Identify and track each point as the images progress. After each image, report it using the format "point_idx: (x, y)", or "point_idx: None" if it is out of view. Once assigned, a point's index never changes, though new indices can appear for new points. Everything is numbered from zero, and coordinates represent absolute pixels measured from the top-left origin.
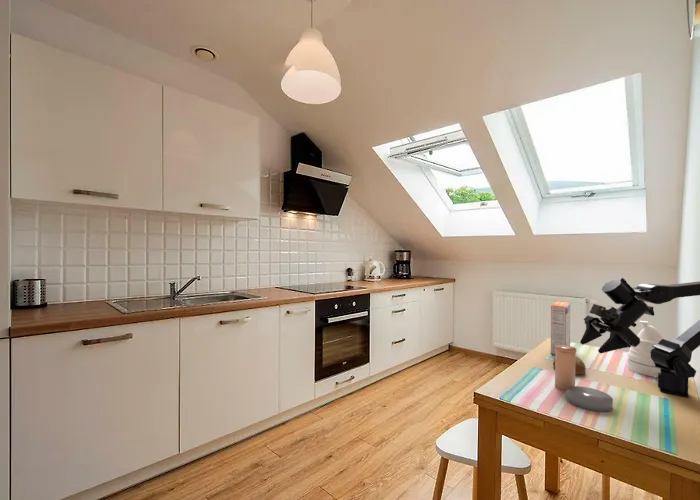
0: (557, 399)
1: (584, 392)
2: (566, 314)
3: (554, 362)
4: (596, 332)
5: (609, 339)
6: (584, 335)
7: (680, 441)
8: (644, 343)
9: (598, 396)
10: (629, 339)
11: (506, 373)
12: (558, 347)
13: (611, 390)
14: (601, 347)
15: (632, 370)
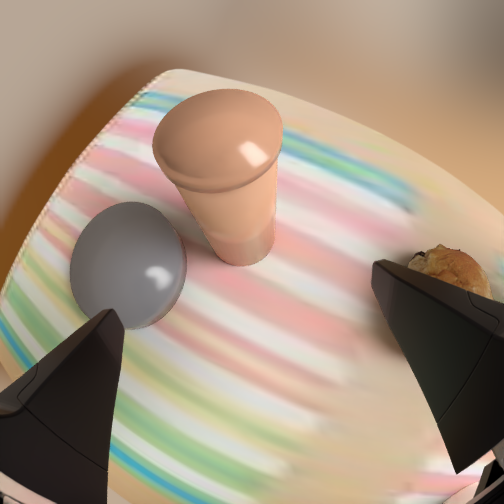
0: (142, 189)
1: (128, 251)
2: None
3: (438, 245)
4: (477, 430)
5: (17, 392)
6: (433, 287)
7: (16, 368)
8: None
9: (105, 284)
10: None
11: (312, 106)
12: (206, 98)
13: (259, 399)
14: (84, 327)
15: (456, 493)
